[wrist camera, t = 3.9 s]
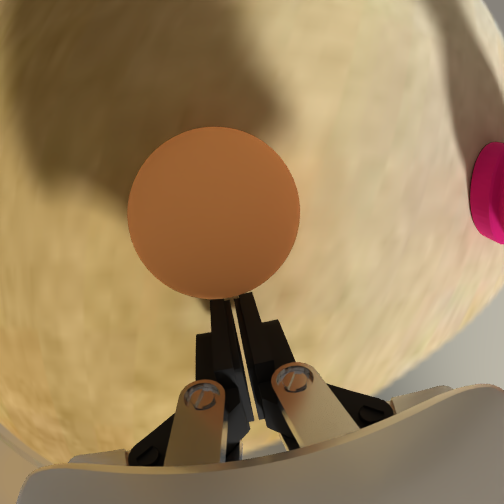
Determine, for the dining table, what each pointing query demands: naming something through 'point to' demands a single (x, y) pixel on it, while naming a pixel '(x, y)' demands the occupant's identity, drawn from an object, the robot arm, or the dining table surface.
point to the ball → (213, 212)
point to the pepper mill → (489, 192)
